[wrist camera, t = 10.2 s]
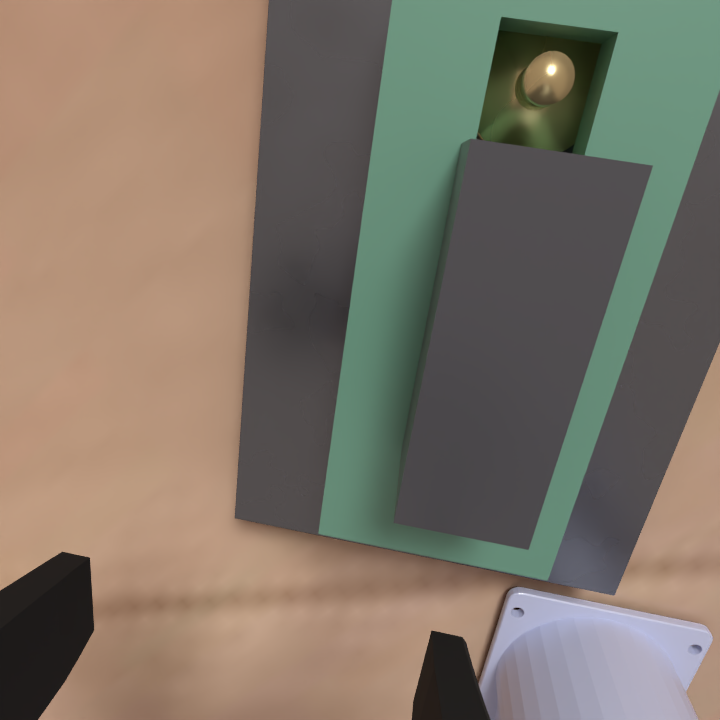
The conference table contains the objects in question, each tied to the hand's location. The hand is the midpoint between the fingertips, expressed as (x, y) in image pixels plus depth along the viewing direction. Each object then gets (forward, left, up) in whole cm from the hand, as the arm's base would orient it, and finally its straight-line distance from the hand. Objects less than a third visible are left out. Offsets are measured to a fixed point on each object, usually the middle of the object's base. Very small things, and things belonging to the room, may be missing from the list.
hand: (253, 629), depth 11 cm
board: (+6, -4, -6) cm, 10 cm away
